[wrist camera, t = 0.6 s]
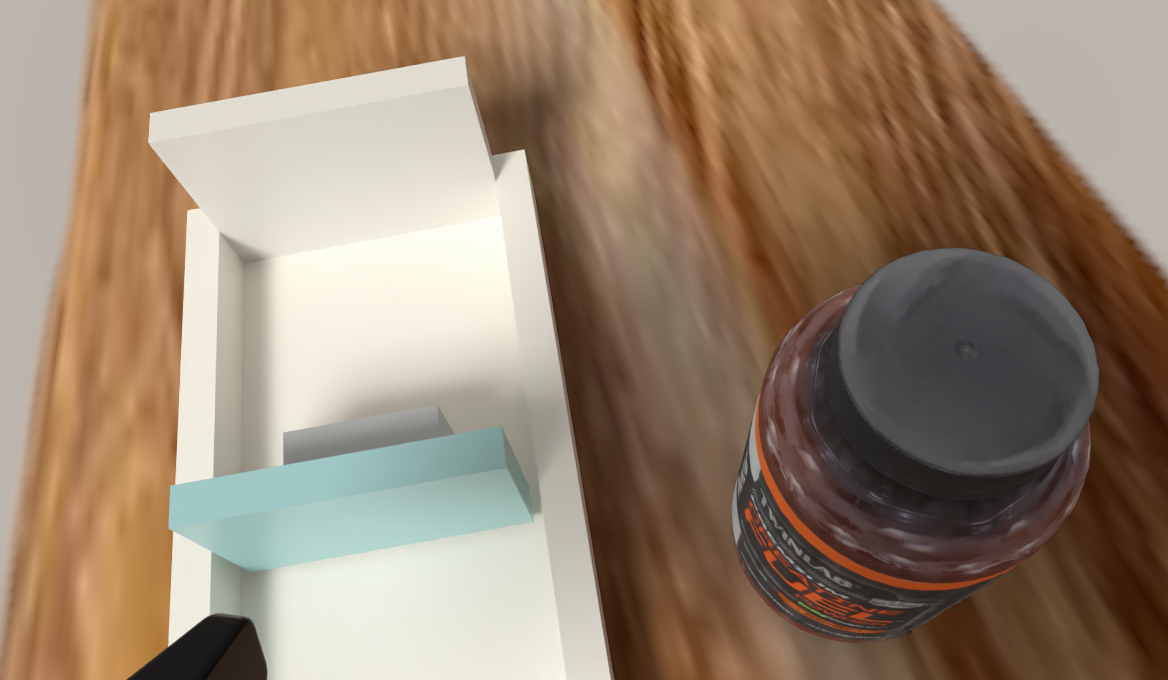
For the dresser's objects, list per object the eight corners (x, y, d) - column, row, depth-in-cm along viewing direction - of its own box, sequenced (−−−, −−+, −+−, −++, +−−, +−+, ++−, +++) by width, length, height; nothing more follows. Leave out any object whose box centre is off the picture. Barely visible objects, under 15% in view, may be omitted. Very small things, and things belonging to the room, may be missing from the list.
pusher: (533, 521, 24) (506, 467, 20) (251, 572, 24) (168, 528, 20) (520, 425, 26) (492, 357, 22) (251, 474, 26) (174, 414, 22)
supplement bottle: (690, 579, 24) (705, 425, 14) (782, 393, 26) (853, 143, 16) (910, 694, 23) (1105, 613, 12) (990, 486, 25) (1212, 273, 15)
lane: (647, 876, 21) (638, 907, 15) (205, 955, 21) (29, 1016, 15) (534, 195, 30) (501, 49, 24) (221, 252, 30) (112, 119, 24)
